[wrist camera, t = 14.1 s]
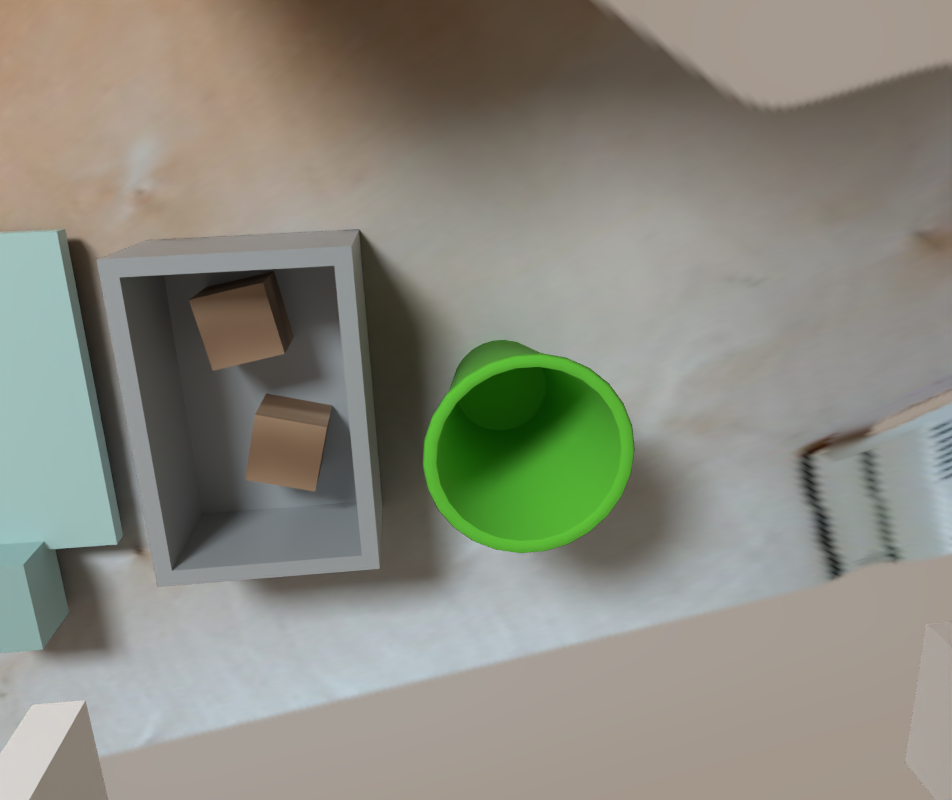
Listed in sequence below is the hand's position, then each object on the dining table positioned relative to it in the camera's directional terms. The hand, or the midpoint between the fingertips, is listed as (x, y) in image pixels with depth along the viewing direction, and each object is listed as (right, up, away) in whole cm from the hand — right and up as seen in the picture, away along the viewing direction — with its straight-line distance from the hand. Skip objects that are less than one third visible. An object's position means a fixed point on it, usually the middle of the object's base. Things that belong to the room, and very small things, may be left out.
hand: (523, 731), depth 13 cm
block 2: (-11, +4, +30) cm, 32 cm away
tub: (-12, +6, +30) cm, 33 cm away
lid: (-26, +3, +30) cm, 40 cm away
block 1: (-12, +10, +28) cm, 32 cm away
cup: (0, +6, +32) cm, 32 cm away
